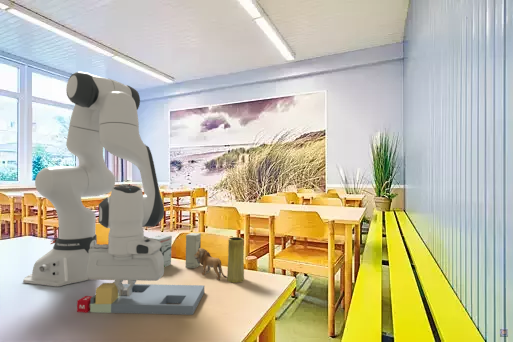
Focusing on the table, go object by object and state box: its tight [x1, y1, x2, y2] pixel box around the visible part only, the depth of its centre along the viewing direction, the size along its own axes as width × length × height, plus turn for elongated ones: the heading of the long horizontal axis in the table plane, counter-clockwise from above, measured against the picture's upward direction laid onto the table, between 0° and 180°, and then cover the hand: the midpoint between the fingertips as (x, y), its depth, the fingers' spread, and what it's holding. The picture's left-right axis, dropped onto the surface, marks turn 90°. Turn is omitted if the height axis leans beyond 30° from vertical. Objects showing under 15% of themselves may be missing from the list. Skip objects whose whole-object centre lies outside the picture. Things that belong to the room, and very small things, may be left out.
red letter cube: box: [76, 295, 94, 314], centre depth 75 cm, size 3×3×3 cm
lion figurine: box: [194, 247, 227, 281], centre depth 103 cm, size 15×5×9 cm, turn 57°
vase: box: [226, 236, 245, 284], centre depth 98 cm, size 6×6×14 cm
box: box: [185, 232, 202, 269], centre depth 113 cm, size 5×4×13 cm
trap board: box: [89, 280, 205, 316], centre depth 80 cm, size 27×14×4 cm, turn 88°
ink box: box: [150, 234, 173, 268], centre depth 112 cm, size 9×5×12 cm, turn 161°
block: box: [95, 282, 118, 304], centre depth 76 cm, size 4×4×4 cm
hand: (125, 295), depth 77 cm, fingers closed
